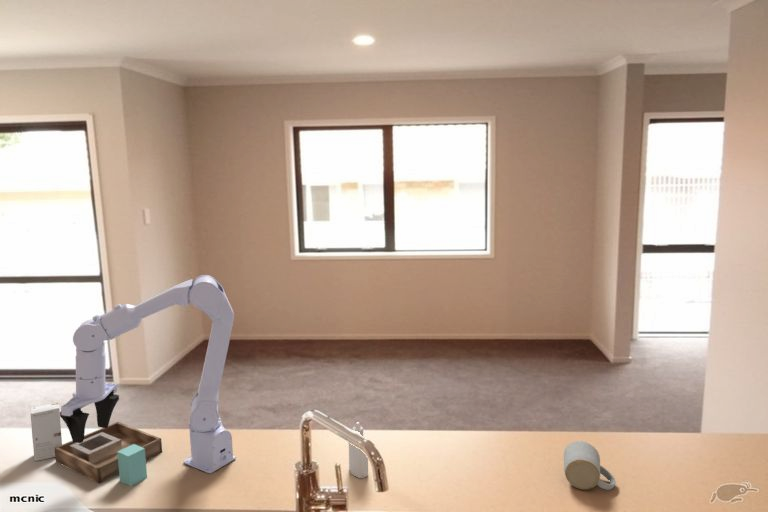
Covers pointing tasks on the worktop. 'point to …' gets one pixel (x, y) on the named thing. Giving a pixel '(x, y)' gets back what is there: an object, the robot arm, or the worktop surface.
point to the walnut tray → (110, 465)
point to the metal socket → (96, 448)
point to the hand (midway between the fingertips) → (90, 434)
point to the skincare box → (45, 430)
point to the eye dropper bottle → (358, 458)
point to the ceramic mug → (585, 467)
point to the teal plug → (132, 464)
